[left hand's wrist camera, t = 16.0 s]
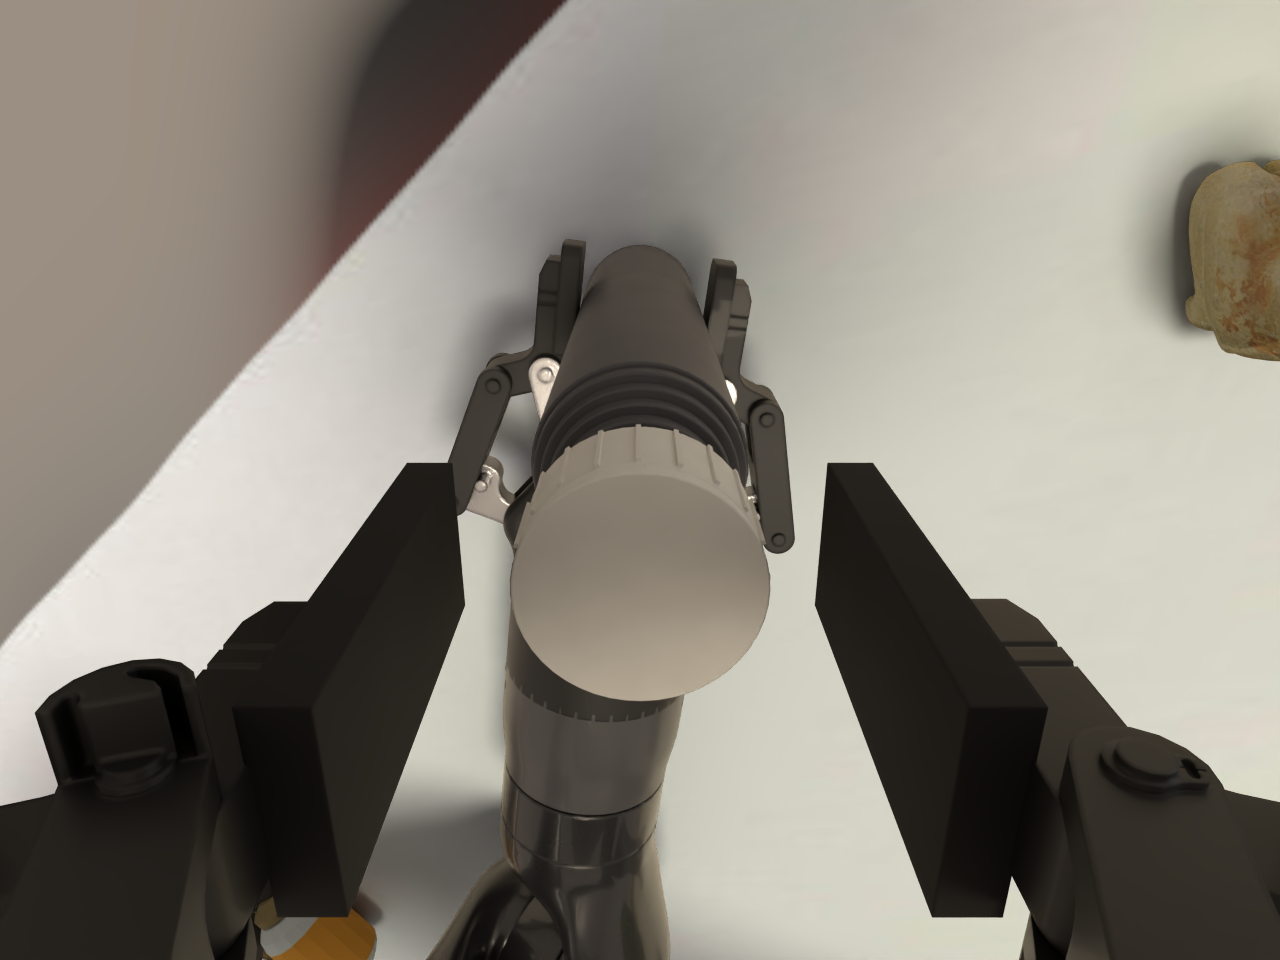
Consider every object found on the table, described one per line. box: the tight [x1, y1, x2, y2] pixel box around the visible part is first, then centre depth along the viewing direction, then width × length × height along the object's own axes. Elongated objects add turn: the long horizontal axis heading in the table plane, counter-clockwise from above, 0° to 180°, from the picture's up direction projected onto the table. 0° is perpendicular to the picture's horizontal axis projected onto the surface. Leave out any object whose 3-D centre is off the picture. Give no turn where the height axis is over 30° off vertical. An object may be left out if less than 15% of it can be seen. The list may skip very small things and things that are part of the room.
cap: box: [510, 424, 770, 701], centre depth 14 cm, size 4×4×2 cm
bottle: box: [531, 245, 749, 490], centre depth 25 cm, size 4×4×24 cm
